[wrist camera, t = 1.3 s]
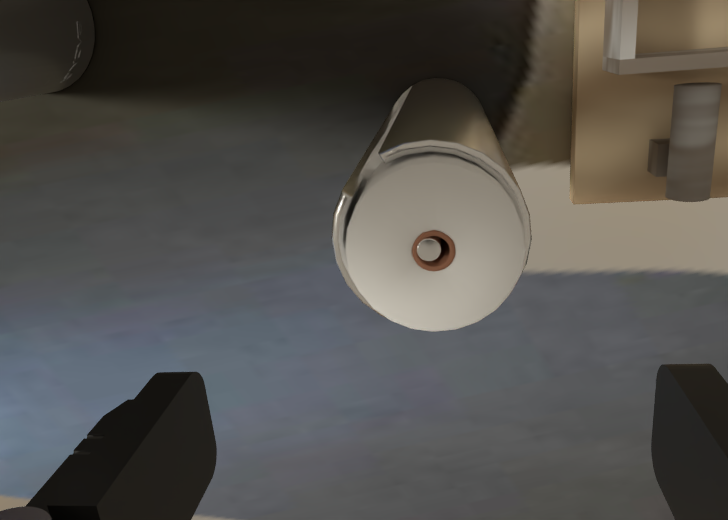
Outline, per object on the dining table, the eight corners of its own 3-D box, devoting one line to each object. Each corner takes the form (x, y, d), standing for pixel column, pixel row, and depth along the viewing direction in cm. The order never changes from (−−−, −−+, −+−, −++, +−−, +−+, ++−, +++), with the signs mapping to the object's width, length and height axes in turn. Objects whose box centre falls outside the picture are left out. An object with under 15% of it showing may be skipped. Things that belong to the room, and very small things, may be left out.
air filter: (472, 65, 41) (510, 118, 18) (495, 161, 43) (556, 320, 20) (377, 93, 43) (297, 177, 19) (403, 185, 45) (359, 361, 21)
